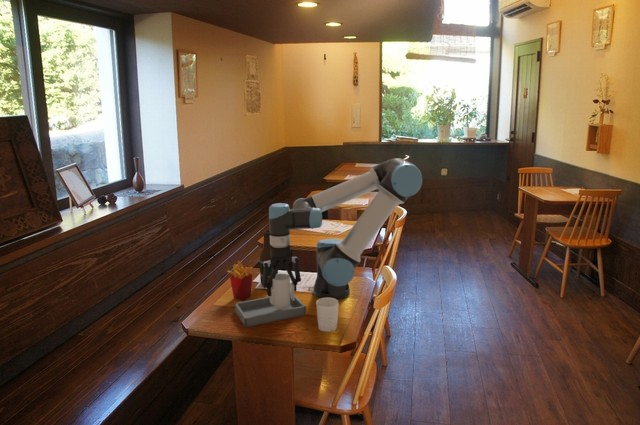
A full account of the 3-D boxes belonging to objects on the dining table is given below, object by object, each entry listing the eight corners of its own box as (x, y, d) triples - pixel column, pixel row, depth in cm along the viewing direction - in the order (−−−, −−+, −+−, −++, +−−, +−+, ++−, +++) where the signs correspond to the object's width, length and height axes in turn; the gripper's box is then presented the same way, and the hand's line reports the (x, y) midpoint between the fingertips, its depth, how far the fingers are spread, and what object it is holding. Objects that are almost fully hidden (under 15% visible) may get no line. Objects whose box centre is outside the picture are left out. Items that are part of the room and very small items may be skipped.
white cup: (316, 323, 191) (315, 297, 189) (337, 322, 192) (337, 296, 189) (317, 333, 184) (317, 307, 181) (339, 332, 184) (339, 306, 182)
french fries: (254, 296, 215) (252, 262, 211) (240, 304, 208) (238, 268, 204) (237, 292, 220) (235, 258, 216) (224, 299, 213) (221, 264, 209)
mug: (285, 311, 196) (284, 281, 192) (269, 308, 198) (268, 278, 195) (297, 300, 204) (296, 272, 201) (282, 298, 207) (281, 269, 204)
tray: (292, 300, 211) (292, 292, 210) (306, 315, 198) (305, 306, 197) (235, 311, 202) (234, 303, 201) (245, 327, 189) (245, 318, 188)
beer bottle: (260, 281, 231) (257, 229, 225) (277, 279, 232) (275, 227, 226) (261, 287, 224) (258, 234, 218) (279, 286, 225) (277, 233, 219)
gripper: (256, 251, 188) (259, 310, 193) (309, 243, 195) (310, 300, 201) (250, 245, 194) (253, 302, 200) (302, 238, 202) (303, 293, 208)
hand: (282, 301), depth 201 cm, fingers closed on mug, 8 cm apart
